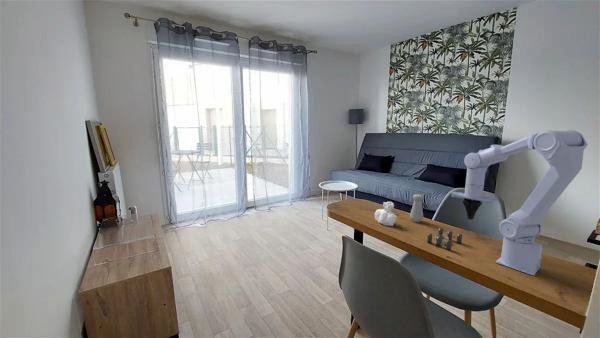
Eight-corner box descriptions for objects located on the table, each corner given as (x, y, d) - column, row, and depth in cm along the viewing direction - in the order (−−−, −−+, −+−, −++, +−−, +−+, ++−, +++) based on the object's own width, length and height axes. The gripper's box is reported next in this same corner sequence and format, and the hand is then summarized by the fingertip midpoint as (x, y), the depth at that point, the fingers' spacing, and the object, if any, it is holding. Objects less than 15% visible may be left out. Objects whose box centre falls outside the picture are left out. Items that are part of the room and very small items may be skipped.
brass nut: (450, 243, 97) (451, 238, 97) (445, 246, 95) (446, 241, 94) (437, 238, 101) (437, 233, 101) (432, 241, 99) (432, 236, 99)
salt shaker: (424, 223, 117) (426, 196, 115) (411, 222, 118) (413, 196, 116) (420, 219, 123) (422, 193, 121) (408, 218, 124) (410, 193, 122)
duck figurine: (396, 231, 113) (407, 210, 115) (388, 224, 109) (399, 202, 112) (376, 223, 123) (386, 203, 126) (367, 216, 120) (378, 196, 122)
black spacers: (462, 243, 97) (463, 234, 96) (449, 251, 91) (450, 241, 90) (439, 235, 104) (439, 227, 103) (426, 242, 98) (427, 233, 97)
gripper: (501, 186, 92) (496, 221, 94) (458, 180, 103) (454, 211, 105) (494, 189, 87) (490, 226, 90) (450, 182, 99) (447, 215, 101)
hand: (470, 218), depth 97 cm, fingers closed
